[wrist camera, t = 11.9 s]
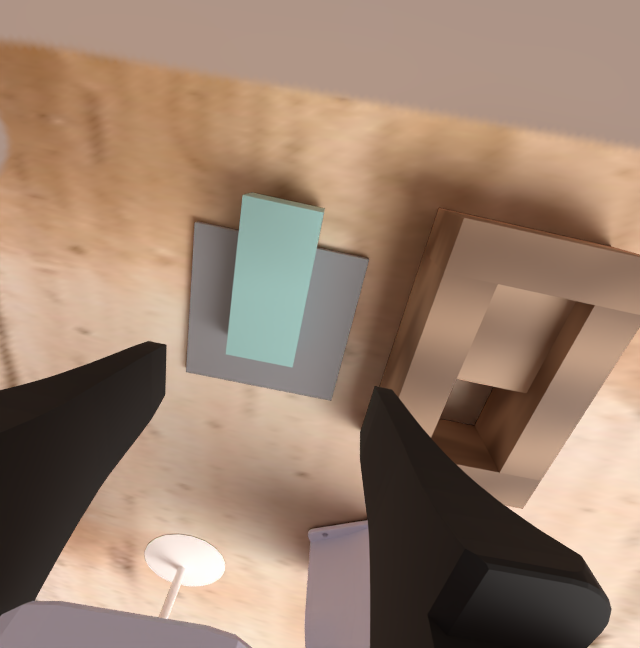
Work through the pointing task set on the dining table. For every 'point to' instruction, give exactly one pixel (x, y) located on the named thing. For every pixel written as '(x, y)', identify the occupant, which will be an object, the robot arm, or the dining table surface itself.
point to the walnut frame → (511, 342)
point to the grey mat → (316, 329)
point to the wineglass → (183, 564)
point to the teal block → (272, 277)
